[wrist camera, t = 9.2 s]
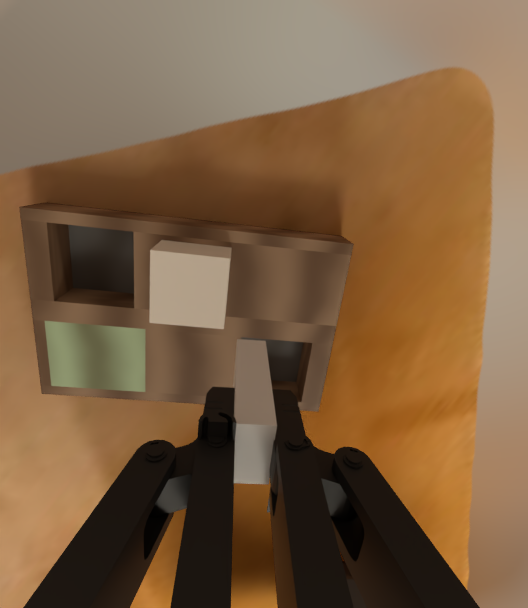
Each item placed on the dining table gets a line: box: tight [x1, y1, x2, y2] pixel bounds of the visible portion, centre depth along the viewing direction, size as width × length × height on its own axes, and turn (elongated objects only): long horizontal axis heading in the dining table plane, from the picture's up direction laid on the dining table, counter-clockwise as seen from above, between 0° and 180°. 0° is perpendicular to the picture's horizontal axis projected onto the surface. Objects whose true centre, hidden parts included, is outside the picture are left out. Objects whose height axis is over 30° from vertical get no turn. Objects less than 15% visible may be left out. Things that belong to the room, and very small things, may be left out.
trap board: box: [19, 203, 354, 411], centre depth 35 cm, size 28×18×4 cm, turn 83°
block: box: [149, 240, 232, 329], centre depth 30 cm, size 6×6×4 cm
